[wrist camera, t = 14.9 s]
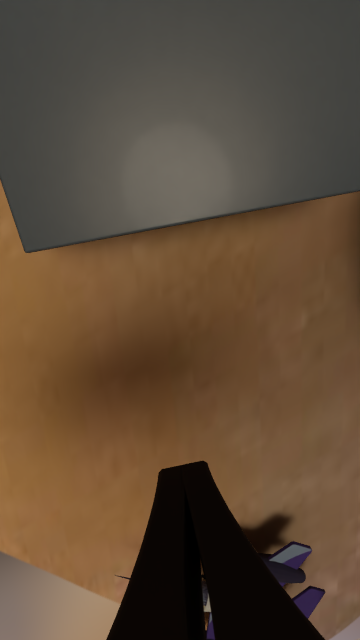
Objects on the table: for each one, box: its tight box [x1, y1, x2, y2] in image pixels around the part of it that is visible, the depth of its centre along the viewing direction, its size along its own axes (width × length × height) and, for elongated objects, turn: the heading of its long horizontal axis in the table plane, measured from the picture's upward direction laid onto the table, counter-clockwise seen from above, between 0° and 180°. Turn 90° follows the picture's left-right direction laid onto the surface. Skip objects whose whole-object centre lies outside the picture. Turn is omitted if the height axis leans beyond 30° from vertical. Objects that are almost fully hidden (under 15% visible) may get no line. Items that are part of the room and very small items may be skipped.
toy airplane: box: [115, 541, 325, 640], centre depth 24 cm, size 13×14×4 cm
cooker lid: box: [0, 0, 360, 253], centre depth 9 cm, size 13×12×1 cm
